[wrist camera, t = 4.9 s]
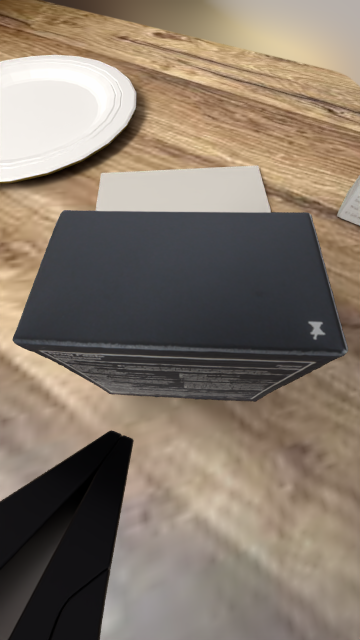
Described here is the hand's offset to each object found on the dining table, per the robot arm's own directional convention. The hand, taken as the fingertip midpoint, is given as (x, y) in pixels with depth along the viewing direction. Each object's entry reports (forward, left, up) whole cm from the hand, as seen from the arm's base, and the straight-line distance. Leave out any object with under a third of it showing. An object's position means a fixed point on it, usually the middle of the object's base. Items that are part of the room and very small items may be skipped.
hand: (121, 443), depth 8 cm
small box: (+5, -2, -8) cm, 10 cm away
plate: (+38, +17, -9) cm, 43 cm away
